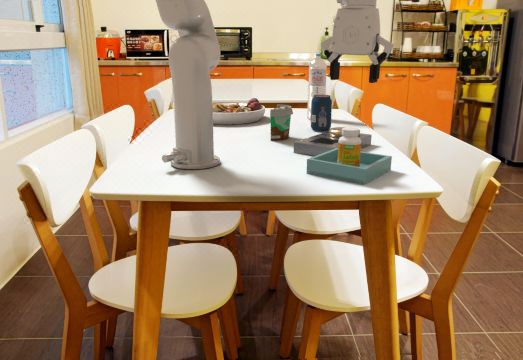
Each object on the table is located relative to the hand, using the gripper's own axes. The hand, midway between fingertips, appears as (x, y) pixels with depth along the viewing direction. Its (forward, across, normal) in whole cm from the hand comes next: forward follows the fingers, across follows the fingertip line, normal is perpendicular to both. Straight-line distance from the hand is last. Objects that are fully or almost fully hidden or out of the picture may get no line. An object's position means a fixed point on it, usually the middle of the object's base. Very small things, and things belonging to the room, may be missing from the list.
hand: (353, 81), depth 111 cm
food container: (+22, -35, +23) cm, 47 cm away
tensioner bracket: (+22, -15, +20) cm, 33 cm away
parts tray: (+22, 0, 0) cm, 22 cm away
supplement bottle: (+21, 0, 0) cm, 21 cm away
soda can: (+22, -32, +42) cm, 57 cm away
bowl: (+23, -73, +40) cm, 86 cm away
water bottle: (+22, -45, +61) cm, 79 cm away
